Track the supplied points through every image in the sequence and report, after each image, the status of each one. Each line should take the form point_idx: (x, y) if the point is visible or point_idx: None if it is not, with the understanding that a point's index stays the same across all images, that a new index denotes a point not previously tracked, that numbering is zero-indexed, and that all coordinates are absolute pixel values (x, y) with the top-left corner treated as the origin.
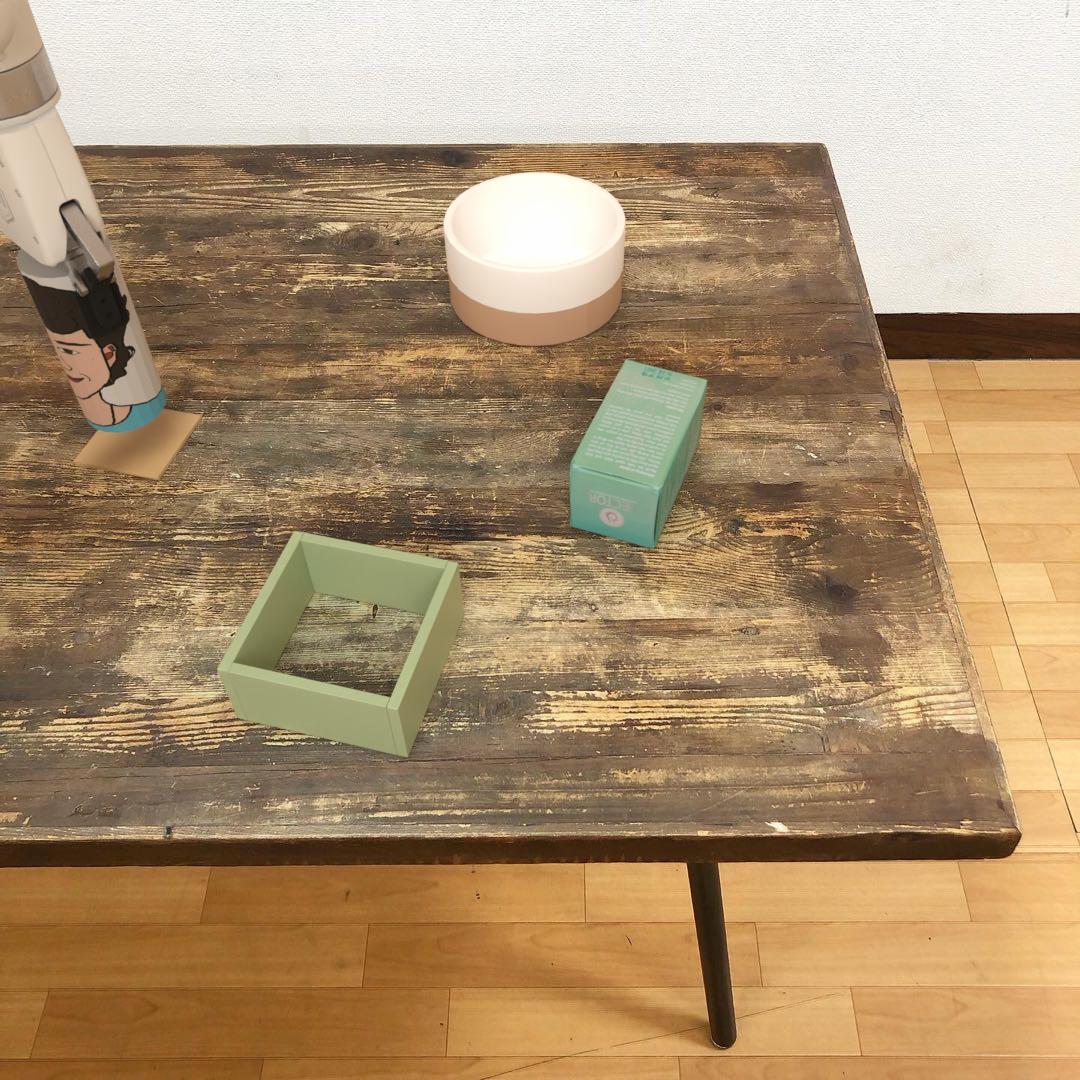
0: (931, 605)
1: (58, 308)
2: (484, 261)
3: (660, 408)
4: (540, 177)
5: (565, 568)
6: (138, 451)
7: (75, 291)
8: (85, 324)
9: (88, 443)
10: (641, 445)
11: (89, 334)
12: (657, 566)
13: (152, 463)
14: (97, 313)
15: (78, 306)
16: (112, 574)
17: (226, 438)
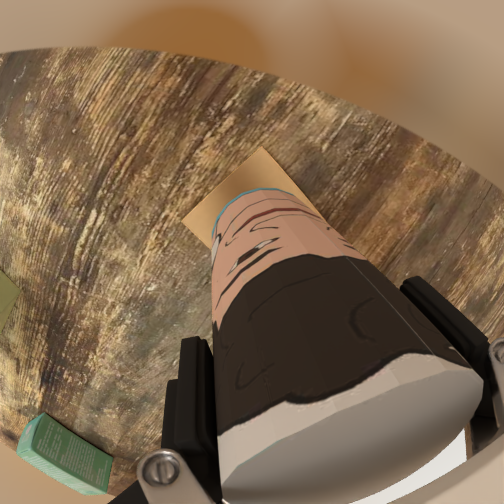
0: (7, 445)
1: (241, 352)
2: (224, 501)
3: (66, 482)
4: None
5: (20, 395)
6: None
7: (198, 445)
8: (189, 359)
9: (281, 170)
10: (41, 467)
11: (194, 337)
12: (21, 416)
13: (205, 223)
14: (164, 410)
15: (183, 406)
16: (77, 143)
17: (209, 296)
